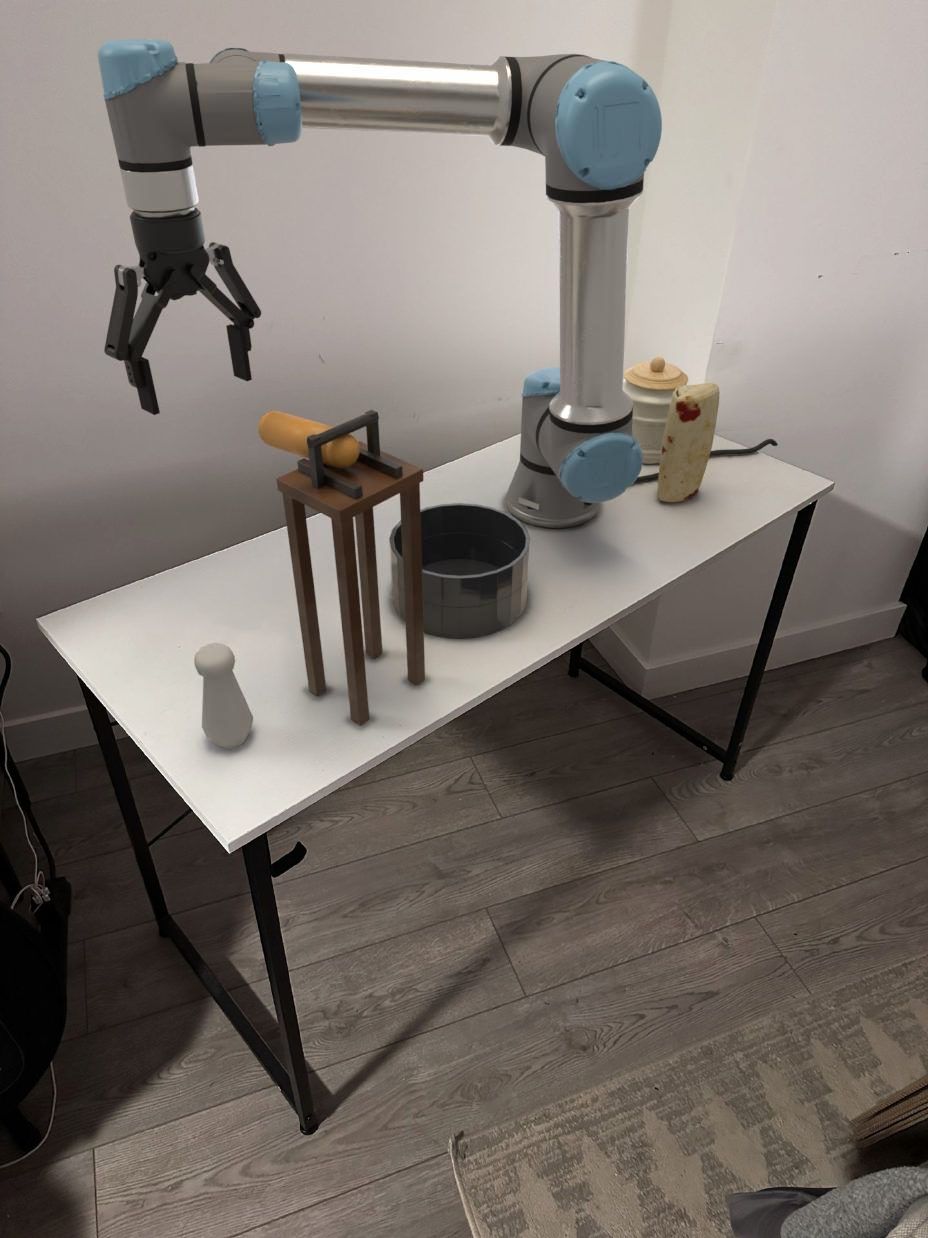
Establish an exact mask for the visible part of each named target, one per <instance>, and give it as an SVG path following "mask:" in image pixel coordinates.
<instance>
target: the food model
mask: <svg viewBox="0 0 928 1238" xmlns="http://www.w3.org/2000/svg"><path fill="white" fill-rule="evenodd" d="M719 405H720V387H719V385H717V384H716V383H714V382H703V383H698V384H685V385H680V386H678V387H677V388H676V389H675V390H674V392H673V395H672V400H671V404H670V409H669V413H668V418H667V423H666V427H665V431H664V435H663V440H662V448H661V458H660V463H659V468H658V472H659V477H658V478H657V498H658V500H659V501H662V502H666V503H678V502H684V501H687V500H690V499H692V498H694V497H696V496H697V494H698V493H699V489H700V487H701V484H702V482H703V479H704V475H705V472H706V469H707V466H708V462H709V461H710V460H709V459H710V457H711V456H710V453H711V451H712V449H713V443H714V438H715V432H716V428H717V421H718V420H717V419H718V414H719V413H718V412H719Z"/></svg>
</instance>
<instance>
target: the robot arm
mask: <svg viewBox="0 0 928 1238" xmlns="http://www.w3.org/2000/svg"><path fill="white" fill-rule="evenodd" d="M97 58H98V65H99V71H100V77H101V83H102V89H103V95H102V96H103V99H104V102H105V108H106V111H107V116H108V121H109V126H110V130H111V133H112V139H113V142H114V143H113V144H114V148H115V153H116V157H117V160H118V167H119V171H120V175H121V180H122V185H123V190H124V195H125V200H126V204H127V207H128V208H129V209H131V210H132V212H131V213H130V215H129V221H130V225H131V230H132V234H133V239H134V245H135V247H136V250H137V251H138V255H139V256H138V257H139V261H138V265H133V266H132V265H131V266H125V265H122V264H116V265H115V266H114V268H113V273H114V274H113V275H114V280H115V281H114V282H115V291H114V295H113V301H112V307H111V312H110V316H109V317H110V318H109V322H108V329H107V332H106V337H105V343H104V350H103V351H104V354H105V355H106V356H109V357H110V358H112V359H114V360H117V361H119V362H122V361H123V362H124V367H125V372H126V375H127V380H128V383H129V385H130V386H131V387H134V388H136V391H137V395H138V399H139V404H140V408H141V410H143V411H145V412H147V413H149V414H152V415H154V416H156V415H158V414H161V411H160V407H159V402H158V398H157V393H156V388H155V384H154V379H153V375H152V374H153V373H152V369H151V365H150V360H149V359H148V358H145V357H143V355H144V352H145V350H146V348H147V346H148V343H149V341H150V339H151V337H152V334H153V332H154V329H155V328H156V325H157V323H158V321H159V318H160V316H161V314H162V312H163V310H164V309H165V308H167V307H168V304H169V302H170V301H171V300H172V301H178V300H180V299H182V298H184V297H186V296H188V297H191V296H195V295H196V296H197V294H198V293H197V292H199V293H200V294H202V295H203V296H204V297H205V299H207V300H208V301H209V302H210V303H211V304H212V305H213V306H214V307H215V308H216V309H217V310H218V311H220V312H221V313H222V314H223V315H224V316H225V317H226V318H227V319H228V321H230V322H232V323H233V324H231V323H230V324H227V325H226V327H225V328H226V333H227V340H228V347H229V353H230V360H231V365H232V366H231V367H232V372H233V376H234V377H235V378H238V379H240V380H243V381H245V382H249V381H252V380H253V378H252V372H251V371H252V370H251V364H250V363H251V362H250V357H249V352H251V351H252V340H251V339H252V338H251V332H250V329H253V328H254V327H255V320H254V319H259V318H261V316H262V310H261V309H260V307H259V305H258V303H257V301H256V299H255V298H254V297H253V295H252V293H251V291H250V290H249V288H248V286H247V284H246V283H245V281H244V280H243V278H242V277H241V274H240V273H239V271H238V270H237V268H236V266H235V265H234V262H233V258H232V253H231V250H230V247H229V246H228V245H226V244H225V245H224V244H221V243H218V242H214V241H211V242H210V243H209V244H208V247H207V248H205V246H204V244H205V242H206V237H205V232H204V231H205V229H204V224H203V219H202V213H201V211H200V210H199V209H198V208H197V207H196V206H198V204H199V202H200V198H199V191H198V186H197V180H196V175H195V170H194V165H193V157H192V153H191V152H192V151H191V147H199V148H200V147H201V148H202V147H212V146H214V147H215V146H216V147H217V146H219V147H220V146H266V145H267V146H268V147H273V146H275V145H280V144H289V143H296V142H298V141H299V140H300V139H301V136H302V134H303V129H315V130H316V129H318V130H337V131H338V130H339V131H340V130H341V131H363V132H364V131H365V132H383V133H384V132H385V133H407V134H408V133H410V134H427V135H428V134H429V135H430V134H433V135H451V136H454V135H455V136H475V137H477V136H479V137H487V138H488V139H489V140H490V142H491V143H492V144H493V146H497V147H498V146H499V147H502V146H503V147H513V148H519V149H524V150H527V151H531V152H532V153H536V154H538V155H541V156H543V157H544V161H545V162H544V163H545V164H544V165H545V167H544V168H545V169H544V170H545V171H544V172H545V197H546V199H547V201H549V202H550V203H551V204H552V205H553V206H554V207H555V208H556V210H557V211H558V299H559V300H558V304H559V310H558V311H559V366H554V367H544V368H540V369H537V370H534V371H531V372H530V373H528V374H527V375H526V377H525V378H524V381H523V387H522V393H521V398H522V399H521V400H522V401H521V420H520V421H521V425H520V448H519V462H518V465H517V467H516V469H515V471H514V474H513V477H512V479H511V481H510V483H509V486H508V489H507V492H506V506H507V509H508V511H509V512H510V514H511V515H512V516H513V517H514V518H516V519H518V520H519V521H521V522H524V523H526V524H529V525H532V526H536V527H540V528H549V529H562V528H563V529H564V528H565V529H566V528H572V527H577V526H579V525H582V524H585V523H587V522H589V521H590V520H592V519H593V518H594V517H595V516H596V514H597V513H598V509H599V504H600V503H604V502H609V501H611V500H613V499H616V498H617V497H620V496H621V495H622V494H624V493H625V492H626V490H627V489H628V488H629V487H632V485H633V484H636V483H642V482H649V481H653V480H658V477H659V471H657V472H656V473H655V472H654V473H652V474H651V473H650V474H647V475H641V476H640V473H641V471H642V469H643V464H644V463H643V454H642V450H641V448H640V446H639V442H638V441H637V440H636V439H635V438H634V437H633V436H632V420H633V401H632V399H631V397H630V396H629V395H627V394H626V393H625V392H624V391H623V379H624V364H625V363H624V361H625V338H626V337H625V336H626V335H625V333H626V311H627V309H626V308H627V307H626V306H627V284H628V283H627V281H628V259H629V258H628V257H629V256H628V255H629V229H630V209H631V207H632V205H634V203H635V202H636V201H637V200H638V199H639V198H640V197H641V196H642V194H644V181H645V180H644V179H645V172H646V171H647V168H648V166H649V165H650V164H651V163H652V162H653V161H654V159H655V157H656V155H657V152H658V151H659V146H660V143H661V138H662V130H663V121H662V120H663V119H662V111H661V108H660V107H661V106H660V104H659V100H658V98H657V95H656V94H655V92H654V89H652V87H651V85H650V84H649V83H648V81H646V80H645V79H644V78H643V77H642V76H641V75H639V74H638V73H637V72H635V71H634V70H633V69H631V68H629V67H628V66H626V65H625V64H623V63H619V62H616V61H614V60H613V61H612V60H604V59H600V58H595V57H592V56H588V55H585V54H579V53H561V54H560V53H559V54H549V55H548V54H547V55H541V56H538V55H537V56H506V55H505V56H502V55H501V56H497V58H496V59H495V60H494V61H493V62H492V63H491V64H489V65H488V64H474V63H473V64H472V63H471V64H470V63H455V62H454V63H453V62H440V61H439V62H437V61H422V60H421V61H420V60H406V59H405V60H404V59H403V60H402V59H387V58H386V59H385V58H367V57H352V56H351V57H350V56H349V57H348V56H335V55H320V54H319V55H317V54H303V53H302V54H301V53H300V54H299V53H276V52H264V51H263V52H261V51H250V50H248V49H246V48H245V47H226V48H224V49H223V50H219V51H218V52H216V54H215V55H214V56H212V57H211V59H210V61H208V62H206V63H205V62H204V63H203V62H202V63H193V62H188V63H187V62H184V61H178V57H177V55H176V51H175V48H174V46H173V44H172V43H171V42H170V41H168V40H164V39H154V38H153V39H147V38H127V39H125V38H124V39H114V40H109V41H106V42H104V43H103V44H102V45H101V46H100V48H99V50H98V51H97ZM209 264H210V265H212V266H213V267H214V270H215V271H216V273H217V275H218V276H219V277H220V279H221V281H222V283H223V284H224V285H225V287H226V289H227V290H228V292H229V293H230V296H231V297H232V299H233V300H234V302H233V301H232V300H231V299H230V298H229V297H228V296H227V294H225V293H224V292H223V291H222V290H221V289H219V287H218V285H217V283H215V281H213V280H212V279H211V278H210V277H209V276H208V275H207V274H206V273H207V271H208V267H209V266H210V265H209ZM142 279H143V280H144V281H145V284H144V287H143V289H142V292H141V294H140V298H141V301H140V303H139V305H138V307H137V301H138V296H139V287H141V286H142V281H141V280H142ZM156 293H157V295H156ZM235 303H236V304H235ZM136 307H137V310H136ZM768 445H771V446H772V447H777V446H779V444H778V442H777V441H776V440H775V439H774V438H767V439H765V440H763V441H762V442H760V443H759V444H757V445H755V446H753V447H747V448H738V449H737V448H735V449H731V448H730V449H728V448H727V449H726V448H725V449H716V450H715V449H714V450H711V453H710V456H709V457H714V456H724V455H725V456H726V455H730V456H731V455H748V454H753V453H756V452H759V451H760V450H763V448H765V447H766V446H768Z"/></svg>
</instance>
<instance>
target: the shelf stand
mask: <svg viewBox="0 0 928 1238" xmlns="http://www.w3.org/2000/svg"><path fill="white" fill-rule="evenodd" d="M379 420H380V416H379V412H378V411H377V410H374V409H370V410H367V411H365V412H364V414H361V415H359V416H357V417H354V418H352V419H350V420H347V421H345V422H342V423H340V424H338V425H336V426H332V427H333V428H331V429H328V430H326V431H324V432H321V433H319V434H317V435H315V434H313V435H311V436H308V437H307V445H308V453H309V459H308V458H305V457H302V459H299V460H297V462H296V464H297V469H294V470H293V471H290V472H288V473H286V474H283V475H281V476H279V477H277V478H276V479H275V480H276V487H277V492H279V493H281V494H282V501H283V508H284V516H285V524H286V531H287V537H288V545H289V552H290V561H291V565H292V575H293V582H294V590H295V597H296V603H297V610H298V619H299V620H298V621H299V627H300V633H301V634H300V635H301V642H302V650H303V656H304V663H305V671H306V679H307V685H308V691H309V692H310V693H312V694H313V695H315V696H316V697H319V696H320V695H321V694H323V693H324V692H326V691H327V682H326V681H327V680H326V674H325V666H324V657H323V647H322V640H321V632H320V623H319V615H318V614H319V613H318V606H317V598H316V590H315V582H314V573H313V565H312V556H311V555H312V554H311V547H310V540H309V532H308V531H309V530H308V523H307V514H306V507H309V508H311V510H314V511H316V512H318V513H320V514H321V515H324V516H326V517H328V518H330V522H331V531H332V540H333V551H334V559H335V560H334V562H335V570H336V582H337V590H338V591H337V592H338V601H339V608H340V609H339V611H340V612H339V613H340V620H341V622H340V623H341V632H342V642H343V643H342V644H343V653H344V659H345V660H344V662H345V669H346V670H345V671H346V681H347V690H348V702H349V712H350V720H351V721H352V722H353V723H355V724H356V725H358V726H362V725H363V724H364V723H366V722H368V721H369V720H370V707H369V695H368V683H367V672H366V670H367V669H366V661H365V660H366V659H365V658H366V657H365V655H367V656H368V657H370V658H372V659H373V660H375V659H376V658H378V657H379V656H381V655H382V654H383V639H382V637H383V636H382V623H381V609H380V594H379V578H378V577H379V576H378V564H377V548H376V546H377V545H376V533H375V531H376V529H375V517H374V507H376V506H378V505H380V504H381V503H384V502H386V501H388V500H389V499H391V498H393V497H395V496H397V495H399V507H400V520H401V531H402V554H403V577H404V600H405V621H404V622H405V641H406V664H407V680H408V681H409V682H410V683H413V684H414V685H415V686H418V685H419V684H421V683H422V682H424V681H425V680H426V667H425V666H426V661H425V657H426V656H425V633H424V622H423V586H422V551H421V515H420V510H421V486H420V484H421V483H422V482H424V468H422V467H420V466H419V465H415V464H413V463H410V462H409V461H406V460H405V459H401V458H399V457H397V456H395V455H392V454H390V453H388V452H387V451H386V452H385V451H383V450H381V441H380V426H379ZM363 428H365V429H366V443H365V442H362V441H361V440H359V441H358V443H359V446H360V454H359V457H358V459H357V461H356V462H355V463H354V464H353V465H351V466H350V467H347V468H341V469H340V468H335V467H332V466H329V465H326V464H323V458H322V448H321V446H322V445H324V444H327V443H329V442H331V441H334V440H336V439H338V438H340V437H343V436H345V435H347V434H349V433H351V434H353V433H354V432H356V431H359V430H361V429H363ZM305 506H306V507H305ZM354 523H355V524H354ZM354 525H355V526H354ZM355 537H356V538H355ZM356 547H357V549H356ZM357 560H358V561H357ZM359 585H360V587H359ZM360 597H361V599H360ZM361 610H362V611H361ZM364 646H365V647H364Z"/></svg>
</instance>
